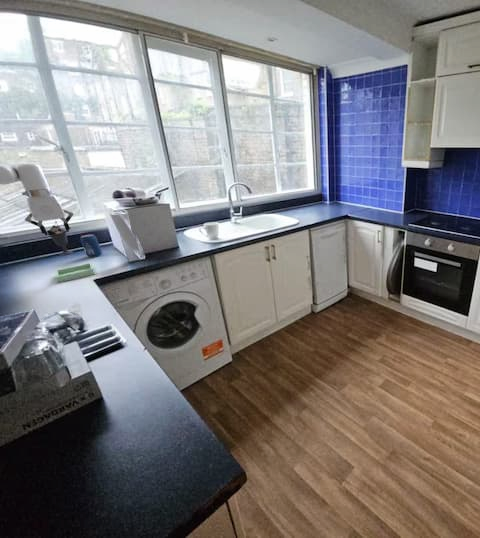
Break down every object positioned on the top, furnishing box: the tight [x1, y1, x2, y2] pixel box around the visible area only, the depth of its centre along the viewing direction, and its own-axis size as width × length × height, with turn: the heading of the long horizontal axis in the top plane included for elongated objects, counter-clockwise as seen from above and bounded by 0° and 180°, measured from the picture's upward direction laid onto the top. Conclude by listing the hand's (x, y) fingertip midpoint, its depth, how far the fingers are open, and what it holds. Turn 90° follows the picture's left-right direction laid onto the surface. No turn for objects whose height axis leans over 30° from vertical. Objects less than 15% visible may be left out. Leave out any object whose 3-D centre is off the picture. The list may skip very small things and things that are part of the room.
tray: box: [55, 262, 95, 283], centre depth 143 cm, size 13×12×3 cm
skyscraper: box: [109, 208, 146, 263], centre depth 156 cm, size 8×8×28 cm
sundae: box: [46, 221, 74, 256], centre depth 136 cm, size 7×7×15 cm
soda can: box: [80, 233, 103, 258], centre depth 167 cm, size 7×7×12 cm
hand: (57, 232), depth 135 cm, fingers closed on sundae, 6 cm apart
